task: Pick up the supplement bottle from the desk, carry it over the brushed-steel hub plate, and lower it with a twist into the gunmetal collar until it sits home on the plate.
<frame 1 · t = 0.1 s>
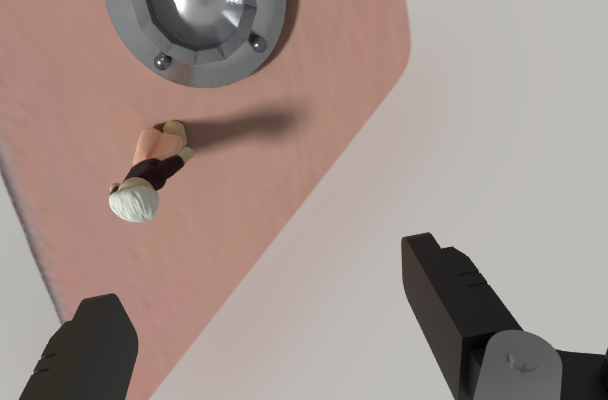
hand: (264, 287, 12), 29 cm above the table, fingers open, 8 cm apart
grandmother figurine: (161, 141, 39), on the table
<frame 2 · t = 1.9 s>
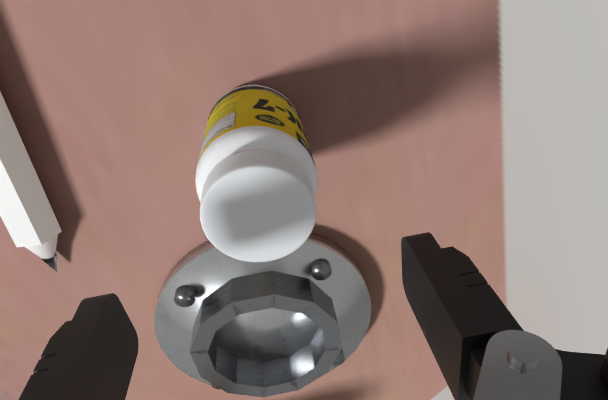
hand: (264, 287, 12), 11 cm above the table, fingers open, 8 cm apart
white pencil: (8, 134, 20), on the table
supplement bottle: (254, 126, 21), on the table
hub plate: (265, 311, 28), on the table
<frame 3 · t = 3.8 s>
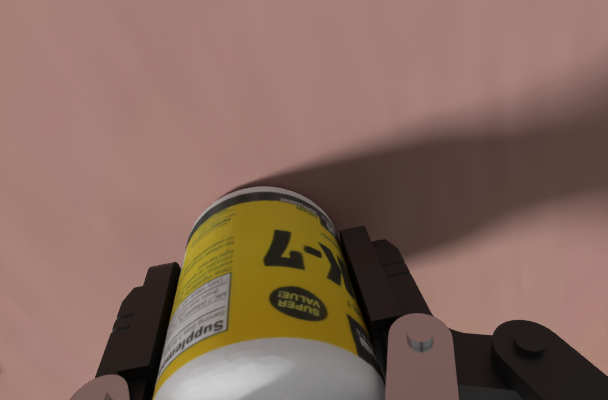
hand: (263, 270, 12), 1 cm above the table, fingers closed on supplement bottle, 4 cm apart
supplement bottle: (263, 242, 13), on the table, touching gripper
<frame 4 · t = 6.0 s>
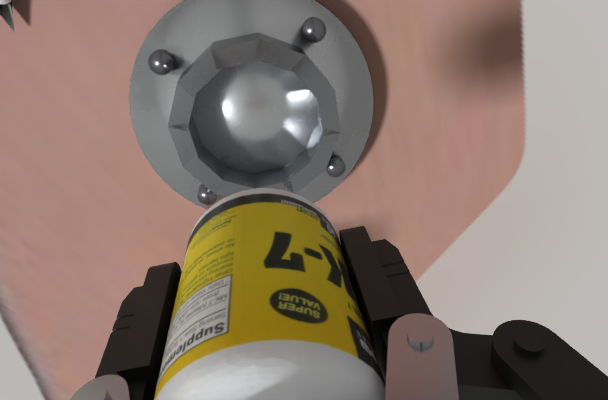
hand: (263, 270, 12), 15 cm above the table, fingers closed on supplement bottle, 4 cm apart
supplement bottle: (263, 244, 13), point 14 cm above the table, touching gripper
hub plate: (255, 110, 25), on the table
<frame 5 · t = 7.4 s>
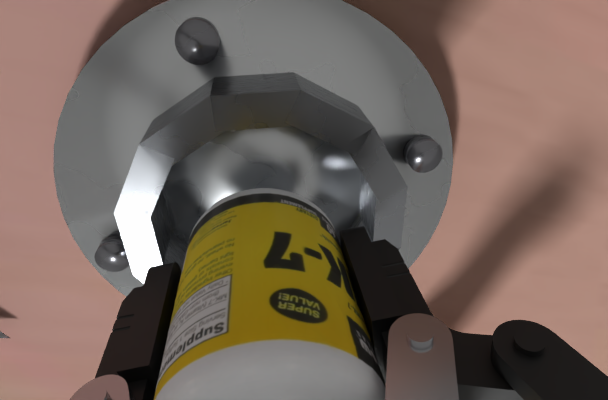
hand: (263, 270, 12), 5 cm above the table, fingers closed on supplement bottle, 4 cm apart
supplement bottle: (263, 243, 13), point 3 cm above the table, touching gripper
hub plate: (264, 184, 16), on the table
when the fingers open (4 cm above the table, at t = 8.6 s): supplement bottle drops 1 cm, resting on hub plate.
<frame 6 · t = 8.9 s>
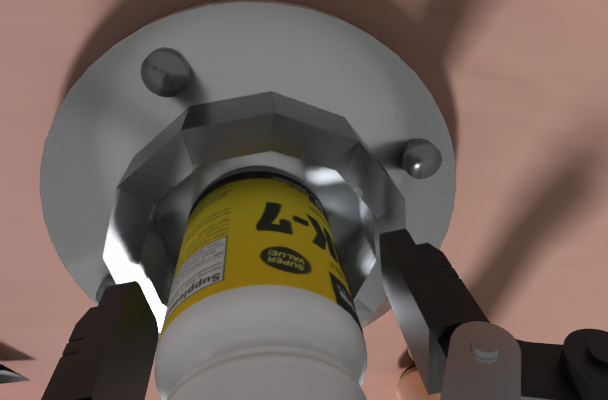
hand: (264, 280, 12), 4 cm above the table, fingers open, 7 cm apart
grandmother figurine: (424, 365, 22), on the table
supplement bottle: (257, 220, 15), point 1 cm above the table, touching hub plate
hub plate: (260, 205, 15), on the table
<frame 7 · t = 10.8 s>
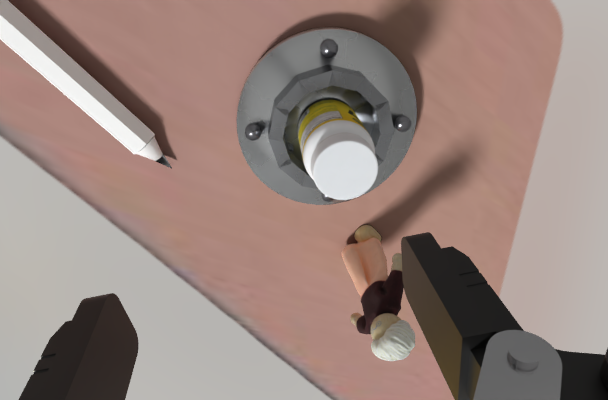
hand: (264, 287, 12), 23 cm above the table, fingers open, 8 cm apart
white pencil: (93, 88, 31), on the table
grandmother figurine: (358, 248, 40), on the table
supplement bottle: (326, 125, 32), point 1 cm above the table, touching hub plate
hub plate: (326, 121, 33), on the table
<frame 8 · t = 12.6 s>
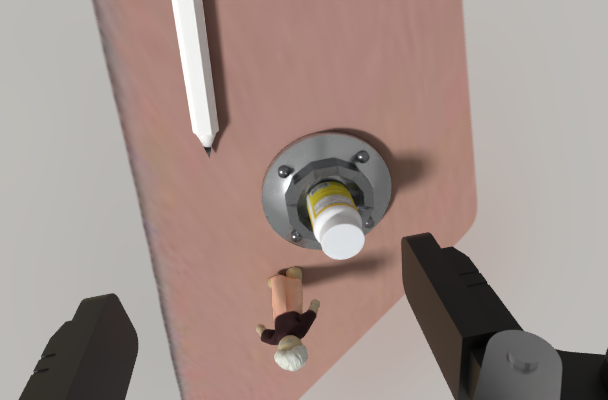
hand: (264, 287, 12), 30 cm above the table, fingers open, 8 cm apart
white pencil: (199, 73, 38), on the table
grandmother figurine: (282, 279, 51), on the table
supplement bottle: (326, 195, 44), point 1 cm above the table, touching hub plate
hub plate: (325, 191, 45), on the table
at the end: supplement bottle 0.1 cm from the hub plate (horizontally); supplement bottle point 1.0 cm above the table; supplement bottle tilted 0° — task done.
